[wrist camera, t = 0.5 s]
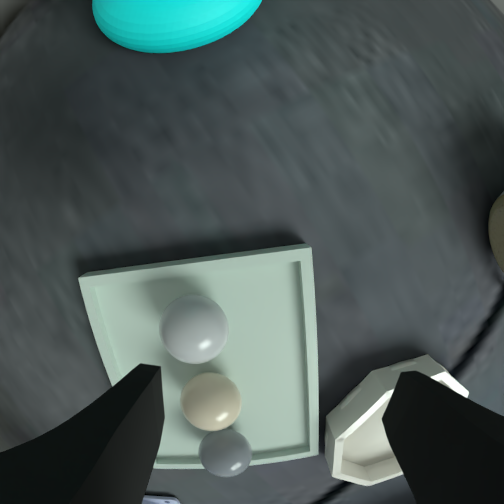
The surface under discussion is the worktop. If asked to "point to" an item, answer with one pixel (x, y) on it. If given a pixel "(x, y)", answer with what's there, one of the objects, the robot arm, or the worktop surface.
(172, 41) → the donuts
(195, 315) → the pebble grey
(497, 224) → the ceramic mug
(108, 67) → the worktop surface
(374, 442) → the stoneware bowl
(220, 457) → the pebble slate
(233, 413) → the beige round ball
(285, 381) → the parts tray
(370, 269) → the worktop surface
